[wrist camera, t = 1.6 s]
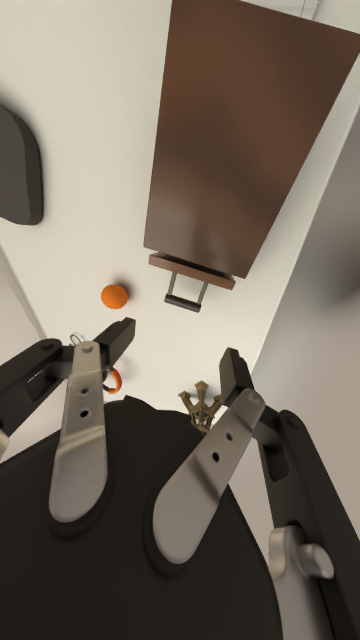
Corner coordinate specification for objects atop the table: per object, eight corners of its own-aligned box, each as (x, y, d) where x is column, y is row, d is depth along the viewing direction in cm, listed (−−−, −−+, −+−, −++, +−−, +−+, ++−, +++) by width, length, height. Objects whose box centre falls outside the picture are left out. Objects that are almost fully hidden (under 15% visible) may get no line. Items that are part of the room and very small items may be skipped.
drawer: (213, 305, 29) (214, 326, 22) (158, 287, 29) (142, 302, 22) (274, 164, 18) (312, 121, 12) (186, 138, 18) (174, 80, 12)
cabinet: (233, 265, 26) (245, 279, 17) (164, 243, 26) (143, 246, 17) (291, 133, 17) (368, 35, 9) (190, 103, 18) (174, -20, 9)
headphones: (58, 335, 39) (117, 377, 35) (77, 327, 43) (131, 363, 40) (62, 372, 47) (110, 408, 44) (78, 362, 52) (122, 394, 48)
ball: (110, 299, 33) (95, 308, 29) (110, 278, 31) (94, 285, 27) (130, 306, 33) (119, 316, 29) (132, 285, 31) (120, 293, 26)
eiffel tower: (201, 380, 41) (193, 533, 20) (227, 399, 43) (244, 556, 22) (178, 394, 46) (152, 528, 25) (202, 410, 49) (197, 547, 27)
